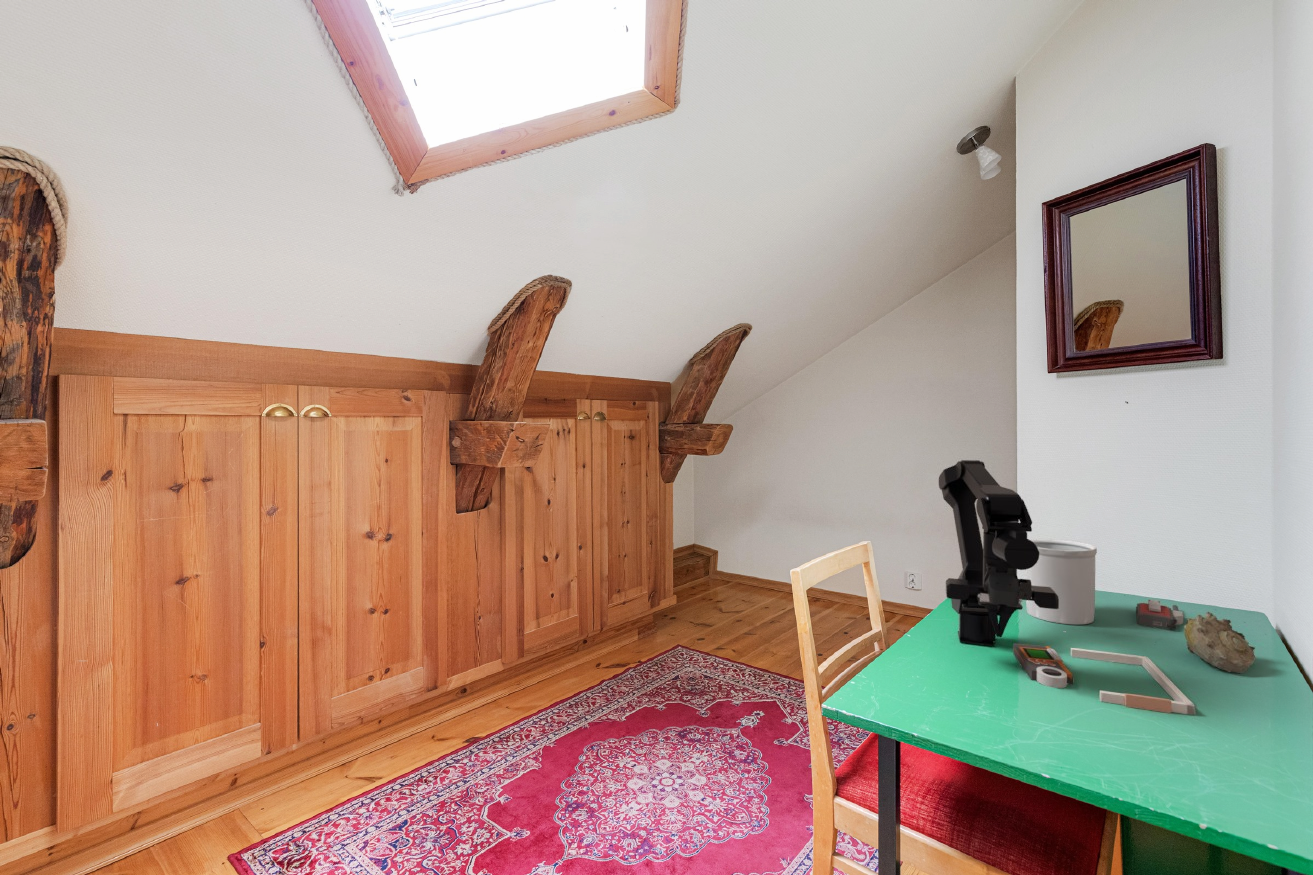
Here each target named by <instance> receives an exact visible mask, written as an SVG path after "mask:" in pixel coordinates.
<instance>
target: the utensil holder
mask: <svg viewBox="0 0 1313 875" xmlns="http://www.w3.org/2000/svg"><path fill="white" fill-rule="evenodd" d="M1030 540H1031V541H1032V542H1033V543H1034V544H1035V545H1036V546H1037V548H1038V551H1039V559H1038V561H1037V563H1036V564H1035V565H1034V566H1033V567H1031V568H1029V569H1026V570H1024V571H1025V572H1024V576H1025V578H1024V579H1029V580H1031V585H1032V586H1043V587H1051V588H1052V589H1053V590H1054V592H1055V593H1056V594H1057V595H1058V598H1059V609H1049V608H1040V607H1038V606H1037V605H1036V604H1035V603H1034V601H1030V600H1025V602H1026V604H1025V605H1026V612H1027V614H1028V615H1029V616H1031V617H1033V618H1035V619H1039V620H1042V621H1045V622H1050V623H1051V622H1052V623H1057V624H1064V625H1076V626H1077V625H1088V624H1091V623H1093V622H1094V621H1095V610H1096V555H1097V552H1098V549H1097V547H1096V546H1095V545H1093V544H1090V543H1086V542H1081V541H1080V542H1079V541H1074V540H1066V539H1065V540H1064V539H1052V538H1050V539H1049V538H1046V539H1045V538H1044V539H1043V538H1040V539H1039V538H1038V539H1030Z"/></svg>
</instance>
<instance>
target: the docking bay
mask: <svg viewBox="0 0 1313 875" xmlns="http://www.w3.org/2000/svg"><path fill="white" fill-rule="evenodd" d="M1070 656H1071V657H1072V658H1078V659H1085V660H1086V659H1087V660H1096V661H1103V662H1112V663H1119V664H1125V665H1126V664H1127V665H1134V666H1135V665H1136V666H1142V667H1143V668H1144V669H1145V670H1146V671H1147V672H1148V673H1149V674H1150V676H1151V677H1152V678H1154V679H1155V681H1156V682H1157V683H1158V685H1159V686H1161V688H1162V689H1163V690H1164V691H1165V692H1166V693H1167V694H1168V695H1169V696H1170V697H1171V698H1172V700H1171V699H1168V698H1161V697H1156V696H1155V697H1154V696H1148V695H1141V694H1132V693H1126V692H1125V693H1121V692H1120V693H1119V692H1114V691H1113V692H1112V691H1108V690H1099V701H1100V702H1102V703H1109V704H1114V705H1115V704H1116V705H1123V706H1125V707H1127V708H1133V709H1140V710H1145V711H1146V710H1147V711H1154V712H1161V713H1167V714H1172V713H1175V714H1176V713H1177V714H1184V715H1190V716H1196V706H1195V705H1194V703H1193V702H1192V701H1191V700H1190V699H1189V697H1187V696H1186V695H1185V694H1184V693H1183V692H1182V691H1181V690H1180V689H1179V688H1178V687H1177V686H1176V685H1175V683H1173V682H1172V681H1171V679H1169V677H1167V675H1166V674H1165V673H1164V672H1163V671H1162V670H1161V669H1160V668H1159V667H1158V666H1156V664H1155V663H1154V662H1153V661H1152V660H1151V659H1150V658H1149V657H1148V656H1144V655H1135V654H1134V655H1133V654H1126V653H1125V654H1124V653H1118V652H1110V651H1102V650H1093V649H1084V648H1077V647H1070Z"/></svg>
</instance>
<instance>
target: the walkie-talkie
mask: <svg viewBox="0 0 1313 875" xmlns="http://www.w3.org/2000/svg"><path fill="white" fill-rule="evenodd" d="M1147 602H1148V603H1147ZM1147 602H1146V603H1145V602H1141V603H1136V606H1135V614H1136V623H1137V625H1139V626H1142V627H1143V626H1144V627H1150V628H1156V629H1161V630H1168V631H1174V630H1175V629H1176V628H1177V625H1183V624H1184V611H1180V610H1179V606H1178V605H1177V604H1173V605H1172V608H1170V607H1169V606H1166V605H1163V604H1161V600H1154V599H1148V601H1147Z"/></svg>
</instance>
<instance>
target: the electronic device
mask: <svg viewBox="0 0 1313 875" xmlns="http://www.w3.org/2000/svg"><path fill="white" fill-rule="evenodd" d="M1012 649H1013V650H1012V654H1013V656H1014V658H1015V659H1016V660H1017V662H1018V663H1019V665H1020V666H1021V668H1022V669H1023V671H1024V672H1025V674H1027V676H1028V677H1029V679H1030V680H1031V681H1036V682H1037V683H1039V684H1041V685H1043V686H1046V687H1049V688H1054V689H1063V688H1066V687H1067V685H1074V675H1073V674H1072V673H1071V671H1070V670H1069V668H1067V666H1065V664H1064V660H1063V659H1062V658H1061V656H1060V654H1058V652H1057V651H1056V650H1055V649H1054V648H1051V647H1050V646H1046V645H1045V646H1044V645H1036V644H1027V643H1026V644H1024V643H1013V647H1012Z"/></svg>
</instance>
